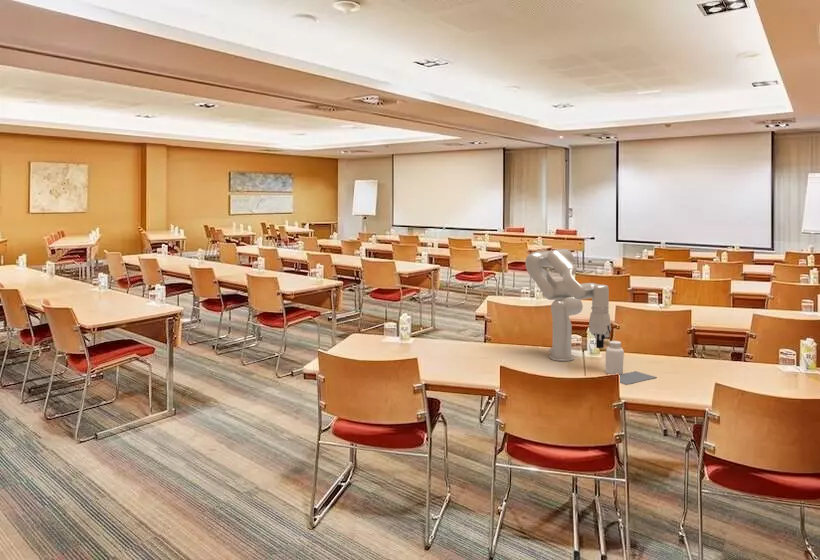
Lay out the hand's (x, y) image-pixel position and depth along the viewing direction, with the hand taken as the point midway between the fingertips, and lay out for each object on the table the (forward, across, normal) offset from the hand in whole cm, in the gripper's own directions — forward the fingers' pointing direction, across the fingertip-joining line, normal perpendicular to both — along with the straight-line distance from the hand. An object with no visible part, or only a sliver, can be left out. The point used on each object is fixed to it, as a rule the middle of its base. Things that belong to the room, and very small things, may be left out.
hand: (599, 347), depth 284 cm
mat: (+11, +19, 0) cm, 22 cm away
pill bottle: (+11, +9, 0) cm, 14 cm away
